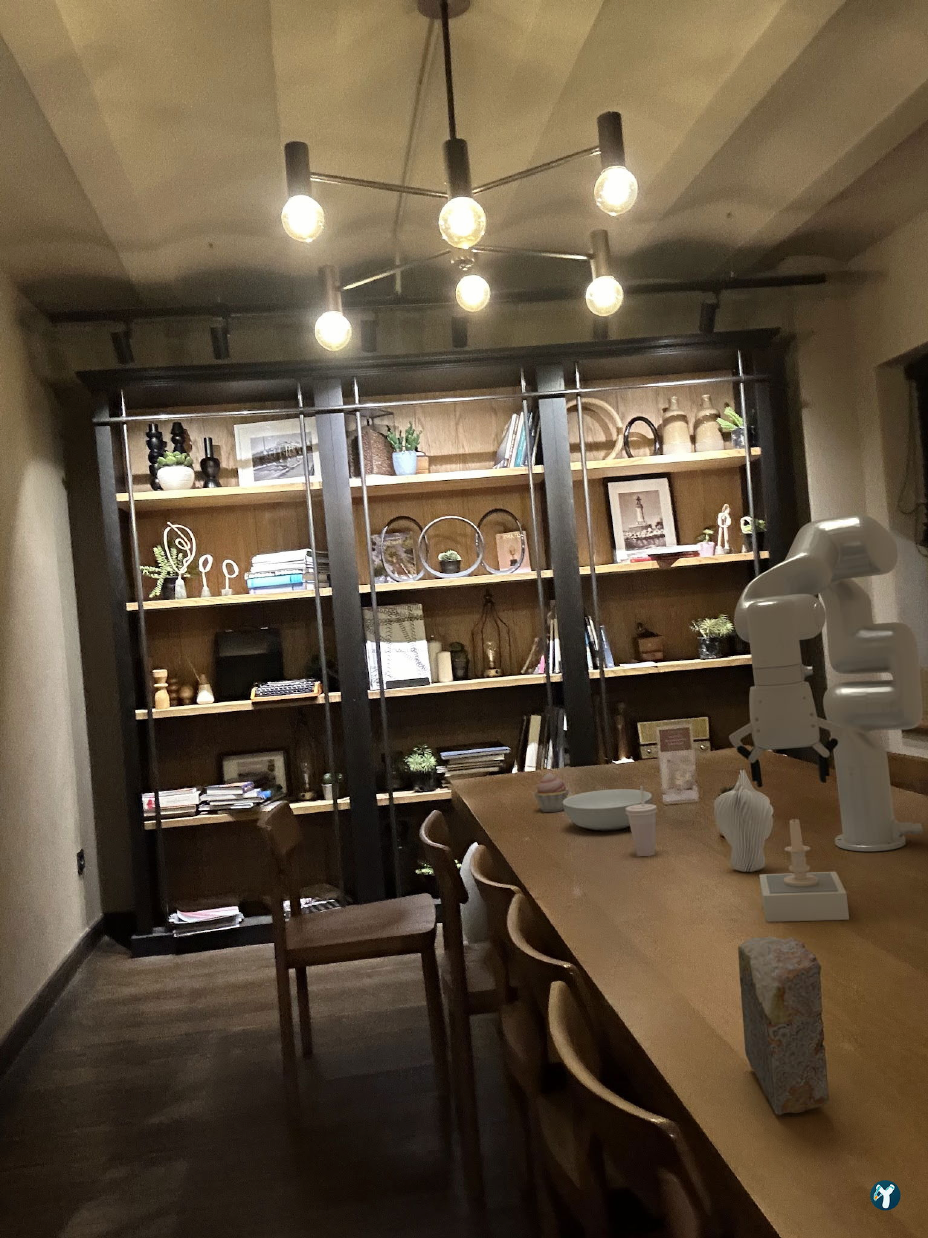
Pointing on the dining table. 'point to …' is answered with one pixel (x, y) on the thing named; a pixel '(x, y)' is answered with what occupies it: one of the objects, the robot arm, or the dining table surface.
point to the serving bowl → (603, 808)
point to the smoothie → (643, 826)
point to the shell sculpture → (745, 823)
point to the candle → (798, 859)
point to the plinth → (804, 898)
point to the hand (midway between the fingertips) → (791, 783)
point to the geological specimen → (784, 1022)
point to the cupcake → (551, 793)
